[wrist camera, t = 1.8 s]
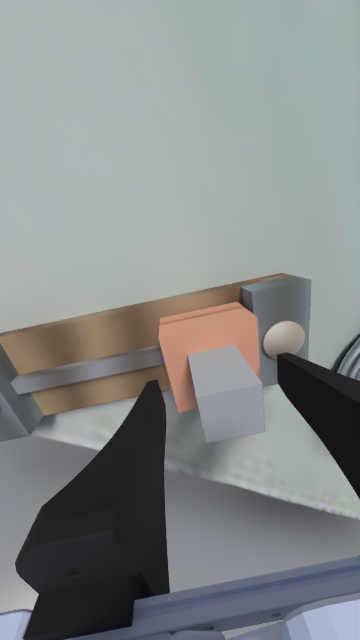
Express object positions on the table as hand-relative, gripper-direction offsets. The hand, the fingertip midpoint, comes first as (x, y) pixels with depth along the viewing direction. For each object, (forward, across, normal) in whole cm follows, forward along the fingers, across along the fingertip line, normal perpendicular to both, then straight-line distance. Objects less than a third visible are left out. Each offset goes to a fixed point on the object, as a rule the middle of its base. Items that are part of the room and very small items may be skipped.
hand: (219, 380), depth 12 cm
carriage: (+5, 0, 0) cm, 5 cm away
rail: (+6, +6, 0) cm, 9 cm away
